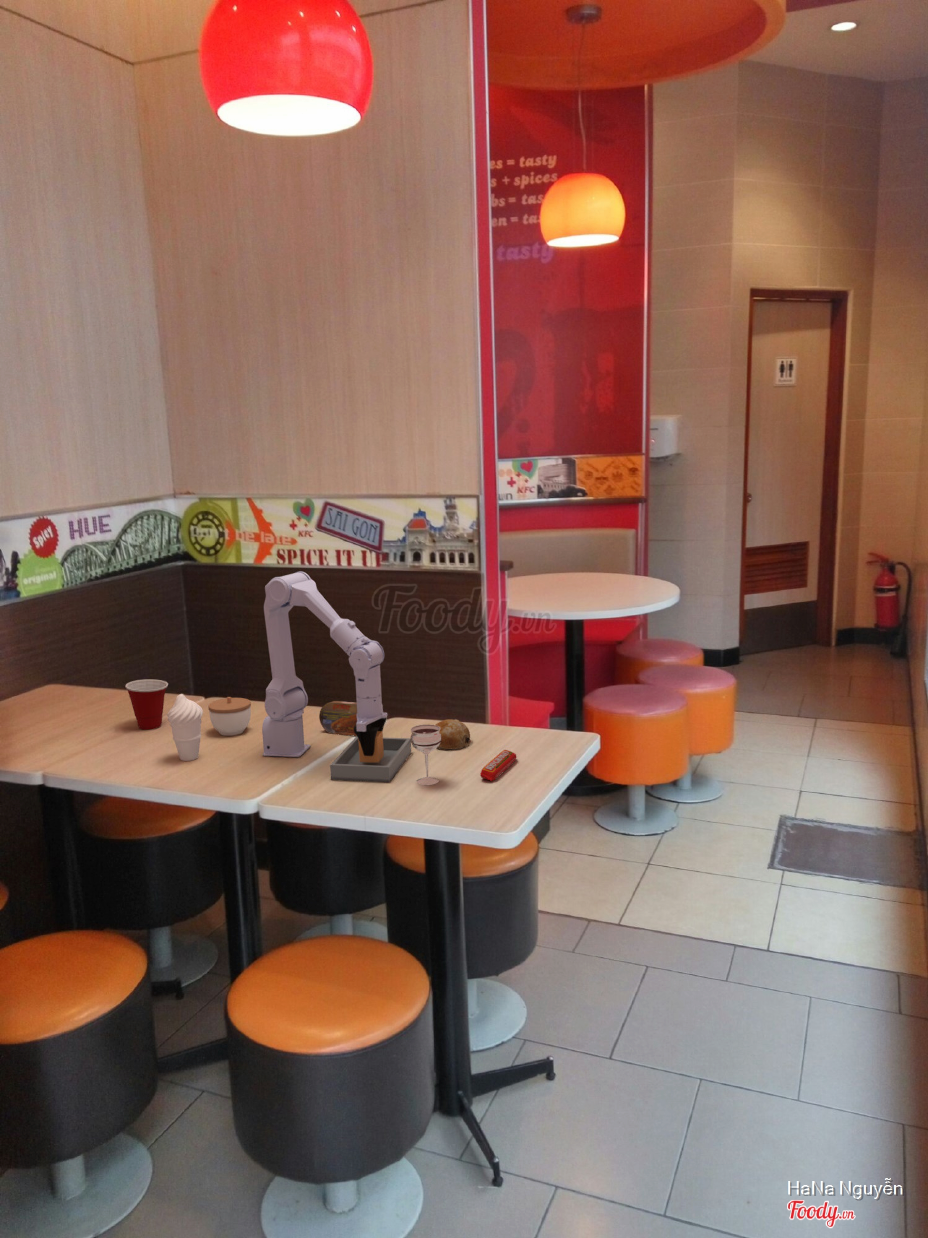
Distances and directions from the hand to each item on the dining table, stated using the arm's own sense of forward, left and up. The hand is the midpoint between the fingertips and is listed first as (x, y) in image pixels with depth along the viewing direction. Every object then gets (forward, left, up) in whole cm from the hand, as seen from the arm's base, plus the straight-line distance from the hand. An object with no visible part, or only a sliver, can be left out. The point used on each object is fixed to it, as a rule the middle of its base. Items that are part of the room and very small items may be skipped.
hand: (371, 751), depth 226 cm
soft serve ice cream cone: (-46, 0, -4) cm, 46 cm away
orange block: (0, 0, -2) cm, 2 cm away
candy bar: (+30, 0, -4) cm, 30 cm away
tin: (-13, +22, -4) cm, 26 cm away
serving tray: (0, 0, -3) cm, 3 cm away
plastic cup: (-68, +22, -4) cm, 72 cm away
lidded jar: (-44, +20, -4) cm, 48 cm away
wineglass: (+15, -8, -4) cm, 17 cm away
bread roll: (+15, +17, -4) cm, 23 cm away
